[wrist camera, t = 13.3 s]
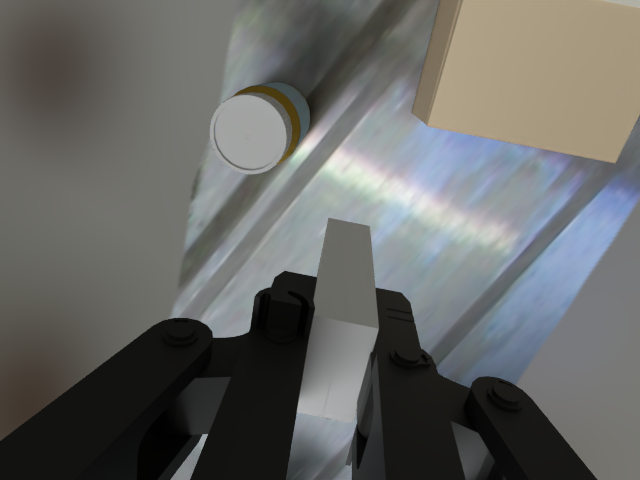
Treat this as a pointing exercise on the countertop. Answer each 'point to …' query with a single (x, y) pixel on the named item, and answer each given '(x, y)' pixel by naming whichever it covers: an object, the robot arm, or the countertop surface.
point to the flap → (543, 74)
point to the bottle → (259, 127)
